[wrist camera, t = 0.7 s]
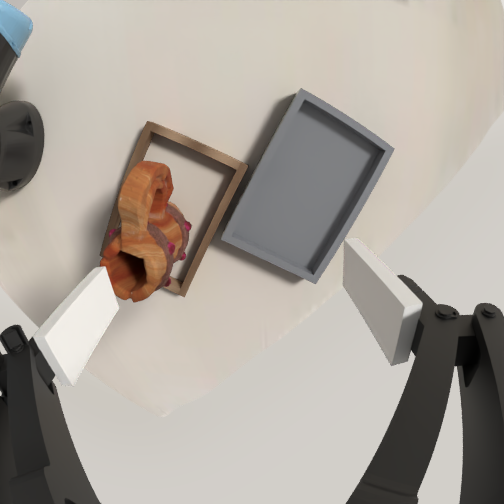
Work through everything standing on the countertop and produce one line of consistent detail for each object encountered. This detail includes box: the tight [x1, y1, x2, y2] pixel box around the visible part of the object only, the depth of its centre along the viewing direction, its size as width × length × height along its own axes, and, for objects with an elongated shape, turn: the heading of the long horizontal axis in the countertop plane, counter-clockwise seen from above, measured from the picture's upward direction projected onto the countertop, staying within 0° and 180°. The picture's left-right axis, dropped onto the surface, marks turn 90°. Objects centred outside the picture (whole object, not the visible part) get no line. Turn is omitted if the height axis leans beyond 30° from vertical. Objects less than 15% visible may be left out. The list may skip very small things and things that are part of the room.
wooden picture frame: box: [100, 121, 248, 297], centre depth 36 cm, size 14×20×2 cm
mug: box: [100, 161, 191, 302], centre depth 30 cm, size 15×8×15 cm, turn 166°
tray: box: [221, 88, 394, 284], centre depth 35 cm, size 14×21×3 cm, turn 153°
